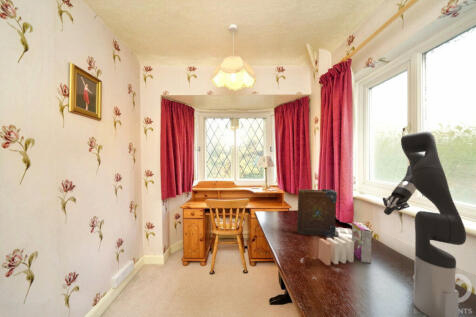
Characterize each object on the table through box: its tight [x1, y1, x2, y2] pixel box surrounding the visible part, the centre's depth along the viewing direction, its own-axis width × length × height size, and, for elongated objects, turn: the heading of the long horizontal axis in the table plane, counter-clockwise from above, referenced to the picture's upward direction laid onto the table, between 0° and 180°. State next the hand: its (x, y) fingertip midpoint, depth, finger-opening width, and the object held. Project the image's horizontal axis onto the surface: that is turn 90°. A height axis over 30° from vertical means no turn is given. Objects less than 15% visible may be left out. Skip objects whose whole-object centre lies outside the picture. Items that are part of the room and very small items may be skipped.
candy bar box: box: [351, 221, 373, 264], centre depth 92 cm, size 11×5×16 cm, turn 168°
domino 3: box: [340, 237, 355, 263], centre depth 90 cm, size 6×2×10 cm, turn 14°
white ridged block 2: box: [333, 236, 347, 264], centre depth 89 cm, size 6×2×10 cm, turn 14°
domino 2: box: [326, 237, 339, 265], centre depth 88 cm, size 6×2×10 cm, turn 14°
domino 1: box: [318, 238, 332, 266], centre depth 87 cm, size 6×2×10 cm, turn 14°
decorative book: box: [296, 188, 338, 238], centre depth 119 cm, size 23×7×30 cm, turn 86°
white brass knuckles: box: [335, 227, 352, 240], centre depth 118 cm, size 3×18×15 cm
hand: (386, 213), depth 96 cm, fingers closed
